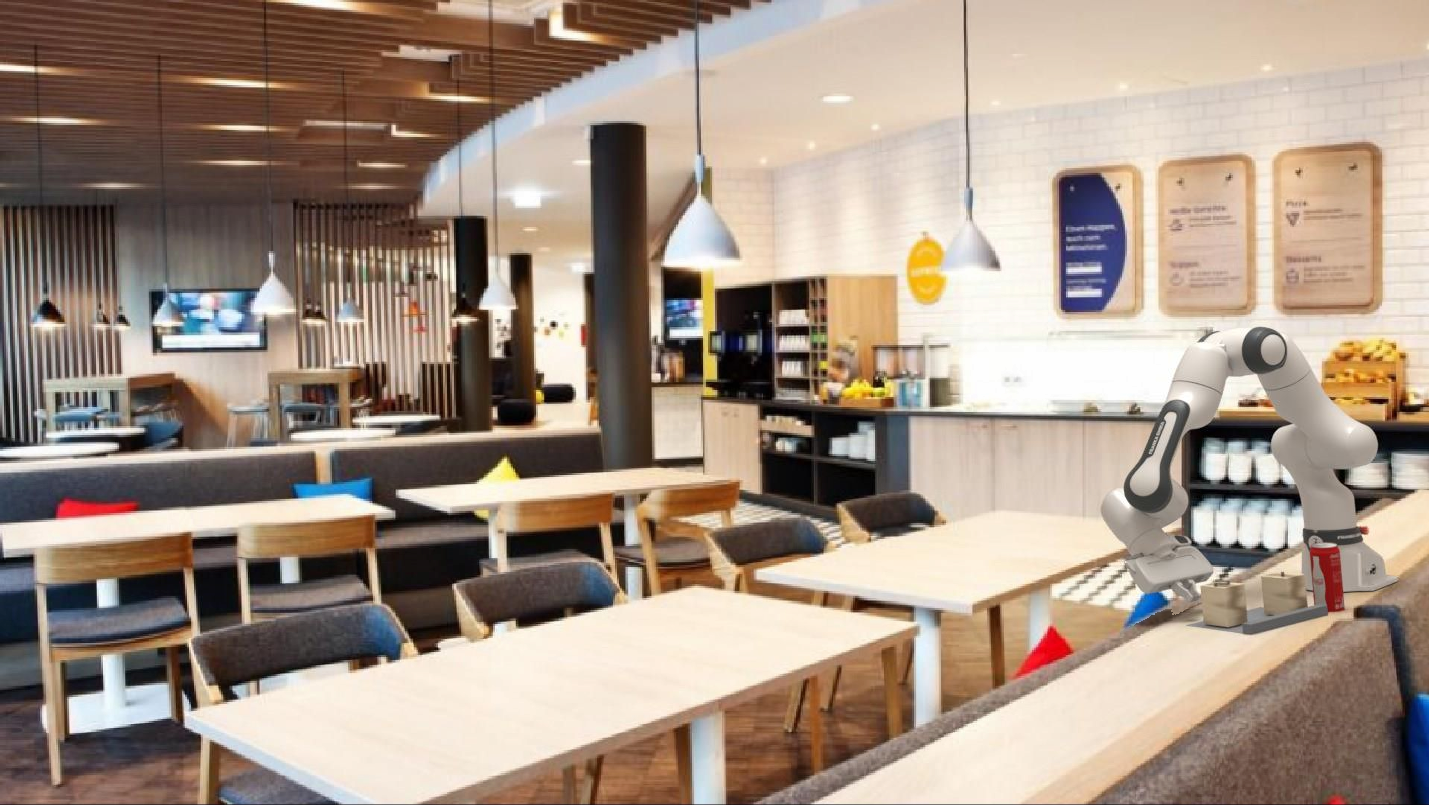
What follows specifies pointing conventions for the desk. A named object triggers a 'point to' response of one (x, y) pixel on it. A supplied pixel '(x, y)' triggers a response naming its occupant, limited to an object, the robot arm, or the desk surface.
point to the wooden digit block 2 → (1224, 603)
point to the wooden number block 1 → (1283, 592)
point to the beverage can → (1327, 576)
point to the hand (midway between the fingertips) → (1195, 600)
